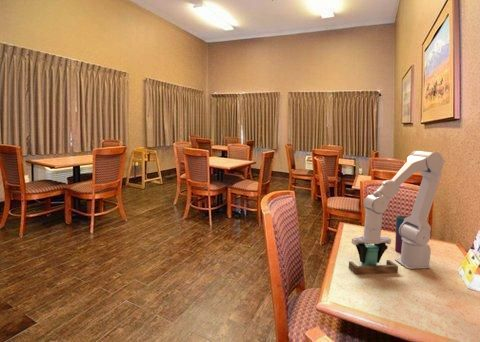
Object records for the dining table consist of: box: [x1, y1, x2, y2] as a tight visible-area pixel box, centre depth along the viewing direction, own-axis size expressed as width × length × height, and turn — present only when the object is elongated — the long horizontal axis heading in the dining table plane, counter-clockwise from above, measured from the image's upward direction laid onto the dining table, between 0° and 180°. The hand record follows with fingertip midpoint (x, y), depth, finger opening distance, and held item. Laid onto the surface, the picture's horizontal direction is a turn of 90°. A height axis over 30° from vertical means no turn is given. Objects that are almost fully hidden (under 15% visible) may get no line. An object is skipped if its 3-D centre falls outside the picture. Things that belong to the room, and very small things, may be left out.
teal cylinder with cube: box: [361, 244, 379, 266], centre depth 112 cm, size 6×8×8 cm
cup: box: [394, 214, 410, 254], centre depth 126 cm, size 7×7×15 cm
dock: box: [348, 259, 399, 275], centre depth 109 cm, size 16×5×2 cm, turn 98°
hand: (369, 262), depth 111 cm, fingers closed on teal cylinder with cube, 5 cm apart
